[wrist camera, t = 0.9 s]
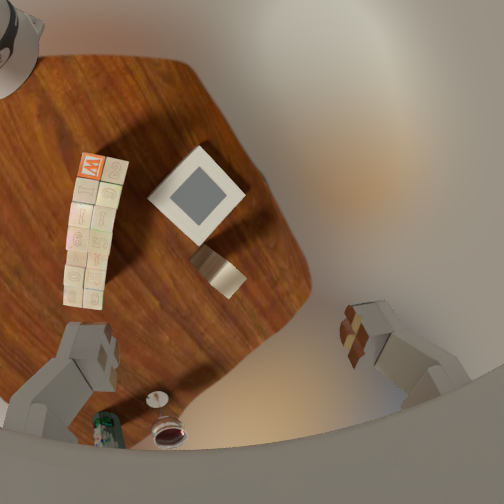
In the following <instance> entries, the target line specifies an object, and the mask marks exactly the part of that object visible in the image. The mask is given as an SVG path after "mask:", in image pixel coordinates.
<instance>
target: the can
mask: <svg viewBox="0 0 504 504" xmlns="http://www.w3.org/2000/svg"><path fill="white" fill-rule="evenodd" d="M93 431H94V441H95V446H98V447H107V448H119V449H126V448H125V444H124V439H123V434H122V429H121V424H120V419H119V418H118V416H117V415H115V414H114V413H112V412H111V413H110V412H108V411H107V412H105V411H104V412H103V411H102V412H101V413H99V412H98V413H97V414H96V415H94V416H93Z"/></svg>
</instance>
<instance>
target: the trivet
mask: <svg viewBox="0 0 504 504" xmlns="http://www.w3.org/2000/svg"><path fill="white" fill-rule="evenodd" d="M244 196H245V194H244V193H243V192H242V191H241V190H240V188H239V187H238V186H237V185H236V184H235V183H234V182H233V181H232V180H231V179H230V178H229V176H228V175H227V174H226V173H225V172H224V171H223V170H222V169H221V168H220V167H219V166H218V165H217V164H216V162H215V161H214V160H213V159H212V158H211V157H210V156H209V155H208V154H207V153H206V152H205V151H204V150H203V149H202V148H201V146H200V145H199V146H196V147H195V148H194V149H193V150H192V151H191V152H190V153H189V154H188V155H187V156H186V157H185V158H184V159H183V160H182V161H181V162H180V163H179V164H178V165H177V166H176V167H175V168H174V169H173V170H172V171H171V172H170V173H169V174H168V175H167V176H166V177H165V178H164V179H163V181H162V182H161V183H160V184H159V185H158V186H157V187H156V188H155V189H154V190H153V191H152V192H151V193H150V195H149V196H148V197H147V199H148V200H149V201H150V202H151V203H152V204H153V205H154V206H156V207H157V208H158V209H159V210H160V211H161V212H162V213H163V214H164V215H165V216H166V217H167V218H168V219H169V220H171V221H172V222H173V223H174V224H175V225H176V226H177V227H178V228H179V229H180V230H181V231H182V232H184V233H185V234H186V235H187V236H188V237H189V238H190V239H191V240H192V241H193V242H194V243H196V244H197V245H198V246H200V245H201V244H202V243H203V242H204V240H205V239H206V238H207V237H208V236H209V235H210V234H211V233H212V231H213V230H214V229H215V228H216V227H217V226H218V225H219V224H220V223H221V221H222V220H223V219H224V218H225V217H226V216H227V215H228V214H229V213H230V212H231V210H232V209H233V208H234V207H235V206H236V205H237V204H238V203H239V202H240V201H241V200H242V199H243V197H244Z"/></svg>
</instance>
